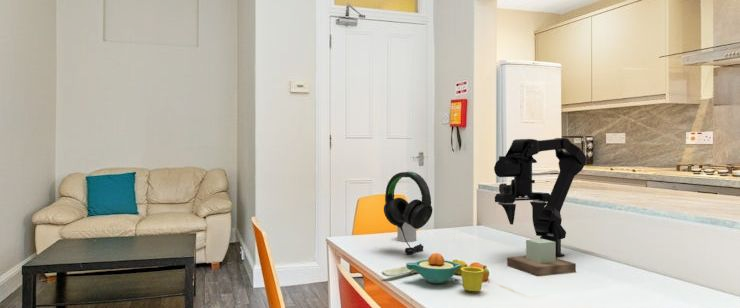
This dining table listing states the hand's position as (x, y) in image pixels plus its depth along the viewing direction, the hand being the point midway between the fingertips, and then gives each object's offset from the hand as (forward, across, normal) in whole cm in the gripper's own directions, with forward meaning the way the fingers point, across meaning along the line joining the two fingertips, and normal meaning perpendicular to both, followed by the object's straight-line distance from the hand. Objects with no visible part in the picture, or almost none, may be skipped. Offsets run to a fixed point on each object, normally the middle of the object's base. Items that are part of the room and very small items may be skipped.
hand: (523, 223), depth 158 cm
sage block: (+10, +3, +12) cm, 16 cm away
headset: (+12, +31, -21) cm, 39 cm away
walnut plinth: (+12, +3, +12) cm, 17 cm away
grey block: (+12, +23, -42) cm, 49 cm away
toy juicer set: (+13, +37, +10) cm, 40 cm away
